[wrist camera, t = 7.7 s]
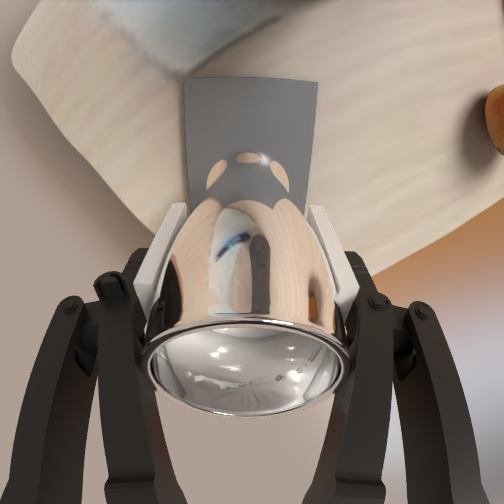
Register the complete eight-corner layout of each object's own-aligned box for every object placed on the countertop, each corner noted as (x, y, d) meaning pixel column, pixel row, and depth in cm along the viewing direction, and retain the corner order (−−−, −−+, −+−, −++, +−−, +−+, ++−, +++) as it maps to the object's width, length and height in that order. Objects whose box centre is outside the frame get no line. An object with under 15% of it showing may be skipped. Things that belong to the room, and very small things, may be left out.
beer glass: (241, 122, 17) (220, 259, 5) (314, 184, 20) (396, 367, 8) (182, 193, 20) (106, 378, 8) (252, 243, 23) (255, 430, 11)
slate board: (186, 79, 21) (183, 79, 20) (315, 82, 22) (318, 82, 21) (194, 223, 31) (192, 229, 30) (299, 225, 31) (301, 231, 30)
